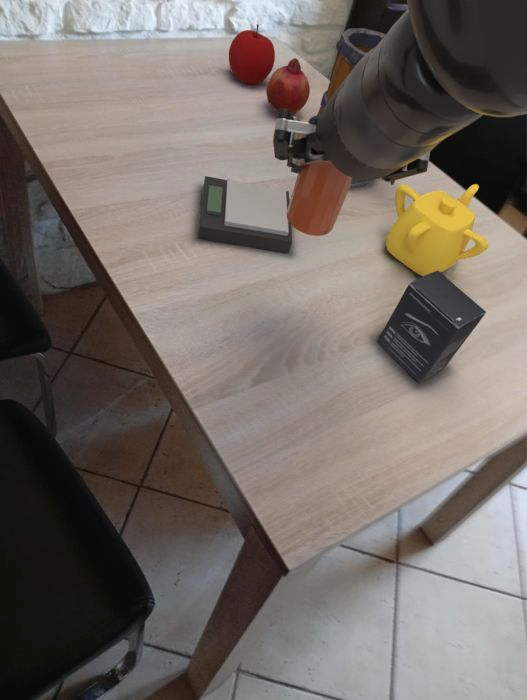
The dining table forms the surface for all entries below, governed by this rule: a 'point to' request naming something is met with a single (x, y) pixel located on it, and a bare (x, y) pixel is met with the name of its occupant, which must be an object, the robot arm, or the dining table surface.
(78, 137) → the dining table surface
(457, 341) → the box
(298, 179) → the cup
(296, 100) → the fruit
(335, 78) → the mug
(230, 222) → the scale
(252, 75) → the apple
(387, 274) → the dining table surface
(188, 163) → the dining table surface
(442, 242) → the teapot
